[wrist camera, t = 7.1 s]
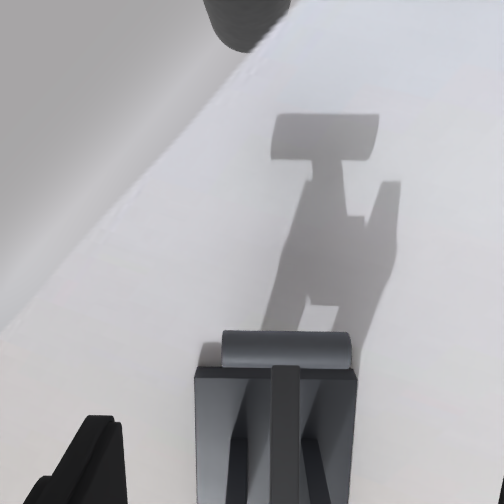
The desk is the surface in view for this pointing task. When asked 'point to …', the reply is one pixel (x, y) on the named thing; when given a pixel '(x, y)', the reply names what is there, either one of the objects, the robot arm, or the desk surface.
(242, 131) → the desk surface
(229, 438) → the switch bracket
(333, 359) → the switch lever
